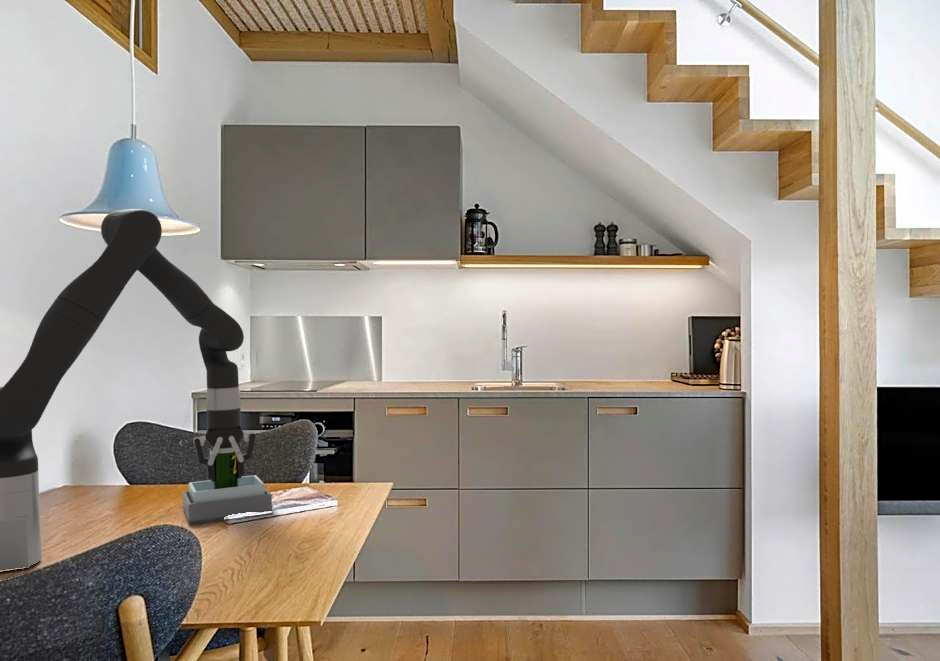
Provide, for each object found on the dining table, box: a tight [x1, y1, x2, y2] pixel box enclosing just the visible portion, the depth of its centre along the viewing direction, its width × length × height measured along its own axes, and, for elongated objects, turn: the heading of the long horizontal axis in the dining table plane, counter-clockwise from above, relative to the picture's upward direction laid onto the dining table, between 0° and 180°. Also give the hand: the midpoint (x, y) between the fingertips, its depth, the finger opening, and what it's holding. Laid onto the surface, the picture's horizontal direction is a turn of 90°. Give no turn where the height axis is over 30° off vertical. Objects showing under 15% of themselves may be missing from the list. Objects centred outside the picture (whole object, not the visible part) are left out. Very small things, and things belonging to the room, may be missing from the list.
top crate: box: [188, 474, 266, 504], centre depth 175 cm, size 11×15×6 cm
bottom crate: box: [182, 487, 273, 526], centre depth 175 cm, size 14×18×4 cm
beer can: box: [213, 447, 238, 489], centre depth 175 cm, size 5×5×12 cm
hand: (225, 479), depth 175 cm, fingers closed on beer can, 5 cm apart
